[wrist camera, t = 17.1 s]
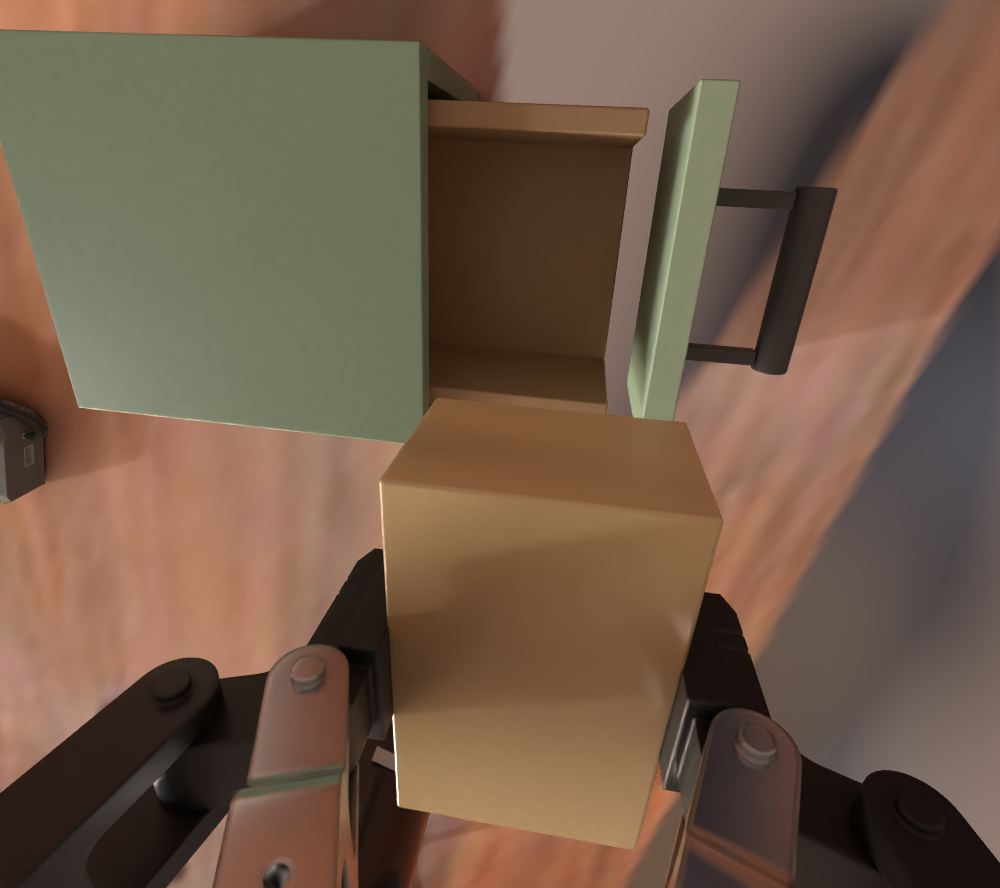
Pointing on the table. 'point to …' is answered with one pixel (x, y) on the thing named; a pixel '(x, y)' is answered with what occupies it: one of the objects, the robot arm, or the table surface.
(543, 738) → the tan rectangular block
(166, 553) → the table surface
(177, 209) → the cabinet
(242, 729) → the robot arm
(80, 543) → the table surface
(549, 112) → the drawer
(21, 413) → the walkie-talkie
